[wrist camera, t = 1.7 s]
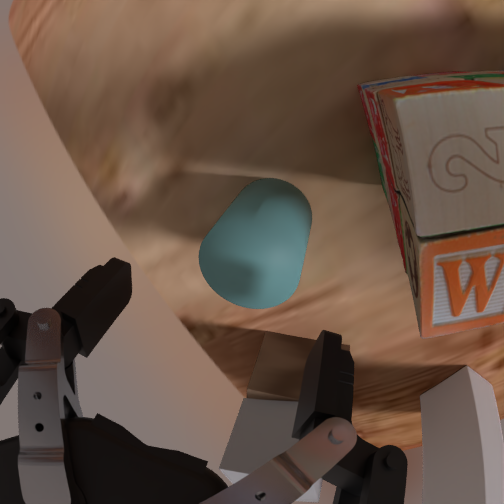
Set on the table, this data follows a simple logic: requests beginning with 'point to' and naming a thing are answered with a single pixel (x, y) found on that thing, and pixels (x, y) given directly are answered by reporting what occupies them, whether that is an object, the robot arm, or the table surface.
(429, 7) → the table surface
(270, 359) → the walnut block
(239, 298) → the teal cylinder
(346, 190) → the table surface
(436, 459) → the milk
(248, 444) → the grey block
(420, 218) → the stack of blocks
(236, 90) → the table surface
